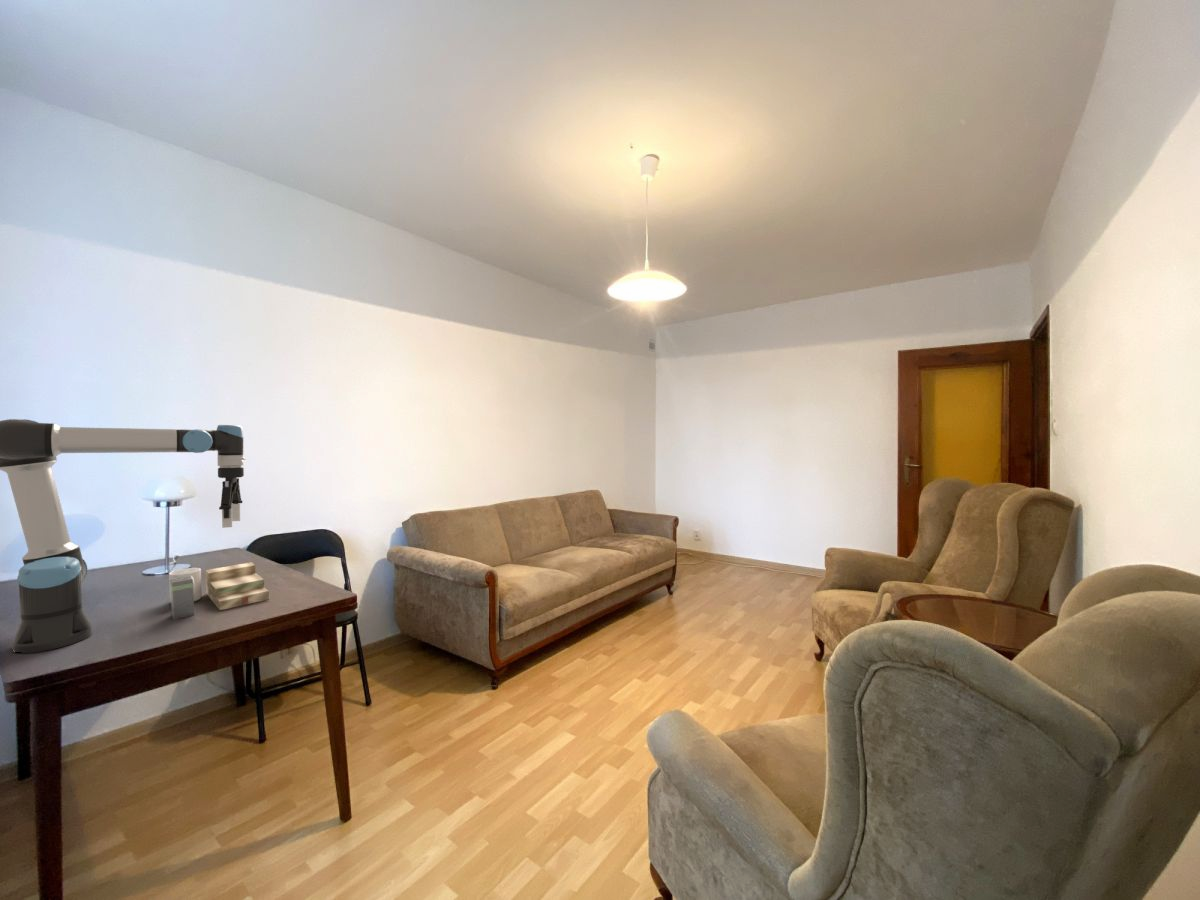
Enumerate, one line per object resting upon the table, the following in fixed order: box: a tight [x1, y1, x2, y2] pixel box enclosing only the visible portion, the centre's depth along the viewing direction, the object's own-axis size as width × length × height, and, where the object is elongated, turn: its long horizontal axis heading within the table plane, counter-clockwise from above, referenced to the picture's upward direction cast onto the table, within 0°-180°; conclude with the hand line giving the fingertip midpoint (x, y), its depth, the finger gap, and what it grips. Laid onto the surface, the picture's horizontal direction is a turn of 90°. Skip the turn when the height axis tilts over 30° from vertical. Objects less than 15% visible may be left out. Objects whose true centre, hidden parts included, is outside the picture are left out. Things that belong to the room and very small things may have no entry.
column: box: [170, 576, 195, 620], centre depth 156 cm, size 5×5×12 cm
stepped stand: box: [205, 561, 270, 611], centre depth 173 cm, size 14×24×9 cm, turn 48°
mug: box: [168, 567, 203, 603], centre depth 169 cm, size 9×12×11 cm
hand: (231, 524), depth 175 cm, fingers open, 13 cm apart
